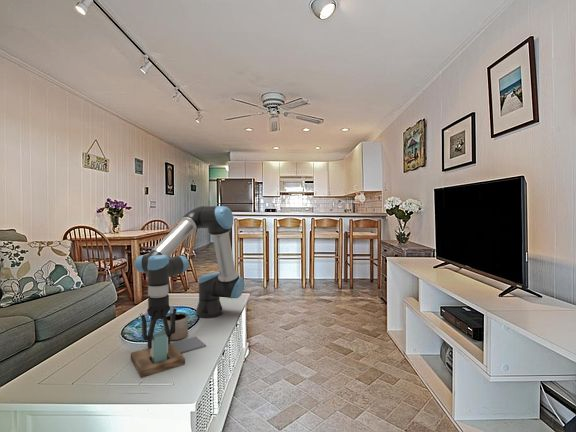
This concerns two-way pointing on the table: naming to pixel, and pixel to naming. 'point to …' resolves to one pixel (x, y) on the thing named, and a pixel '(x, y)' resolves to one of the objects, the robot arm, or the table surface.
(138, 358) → the pocket board
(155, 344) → the teal block
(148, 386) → the table surface
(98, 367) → the table surface
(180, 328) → the planter
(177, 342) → the rubber mat
